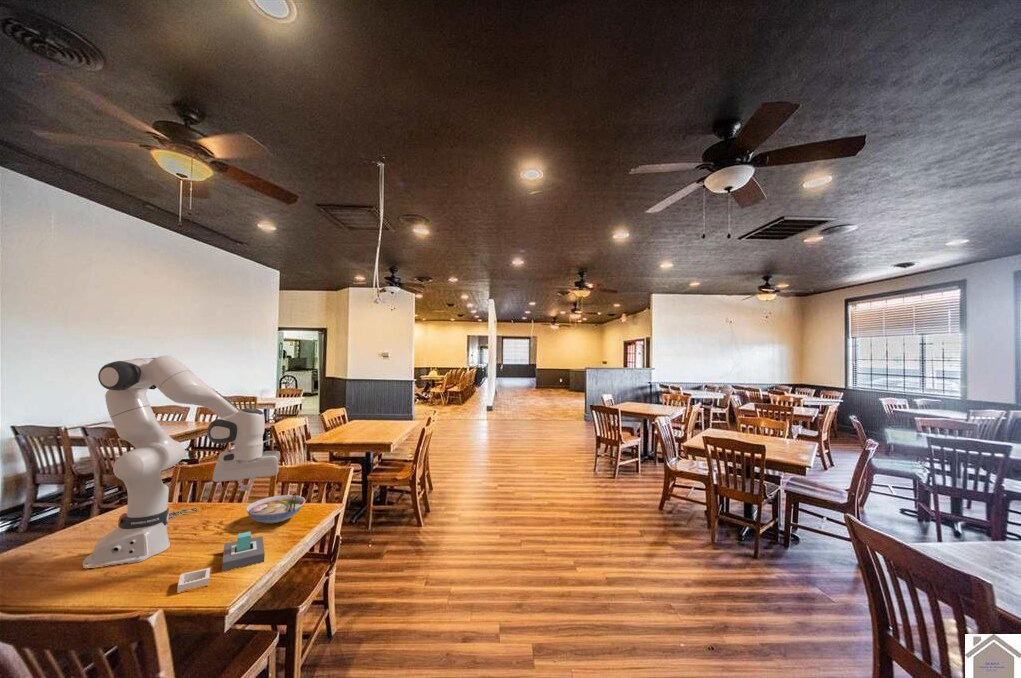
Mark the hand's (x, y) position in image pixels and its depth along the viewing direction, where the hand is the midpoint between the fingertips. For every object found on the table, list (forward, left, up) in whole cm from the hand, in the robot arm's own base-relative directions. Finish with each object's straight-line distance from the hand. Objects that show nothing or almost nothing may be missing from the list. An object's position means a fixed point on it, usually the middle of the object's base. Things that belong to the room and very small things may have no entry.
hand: (245, 490), depth 142 cm
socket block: (+1, -2, -23) cm, 23 cm away
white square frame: (-12, -14, -23) cm, 30 cm away
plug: (+1, -2, -23) cm, 23 cm away
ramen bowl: (+13, +28, -24) cm, 39 cm away
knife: (-28, +52, -24) cm, 63 cm away
